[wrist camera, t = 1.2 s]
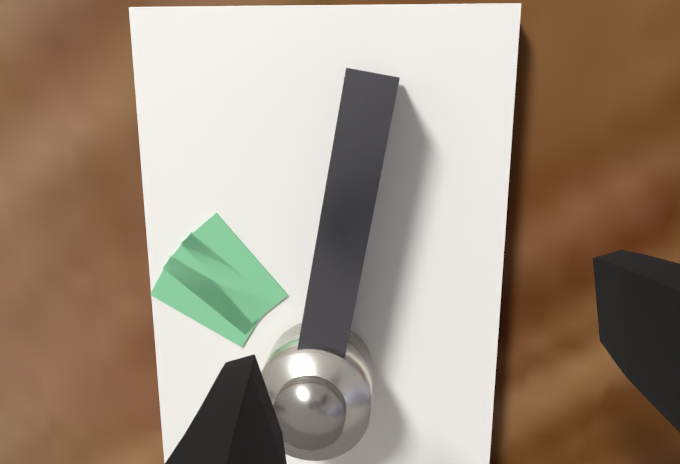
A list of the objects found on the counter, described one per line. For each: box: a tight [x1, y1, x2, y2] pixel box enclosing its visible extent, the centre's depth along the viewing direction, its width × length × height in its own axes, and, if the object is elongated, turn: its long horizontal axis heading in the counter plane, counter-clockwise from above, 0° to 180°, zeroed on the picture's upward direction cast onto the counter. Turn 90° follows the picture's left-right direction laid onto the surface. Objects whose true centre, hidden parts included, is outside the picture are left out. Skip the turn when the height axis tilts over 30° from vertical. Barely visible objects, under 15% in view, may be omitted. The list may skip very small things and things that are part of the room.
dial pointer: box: [261, 68, 400, 461], centre depth 20 cm, size 13×4×3 cm, turn 170°
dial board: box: [129, 3, 521, 464], centre depth 24 cm, size 13×26×2 cm, turn 0°
